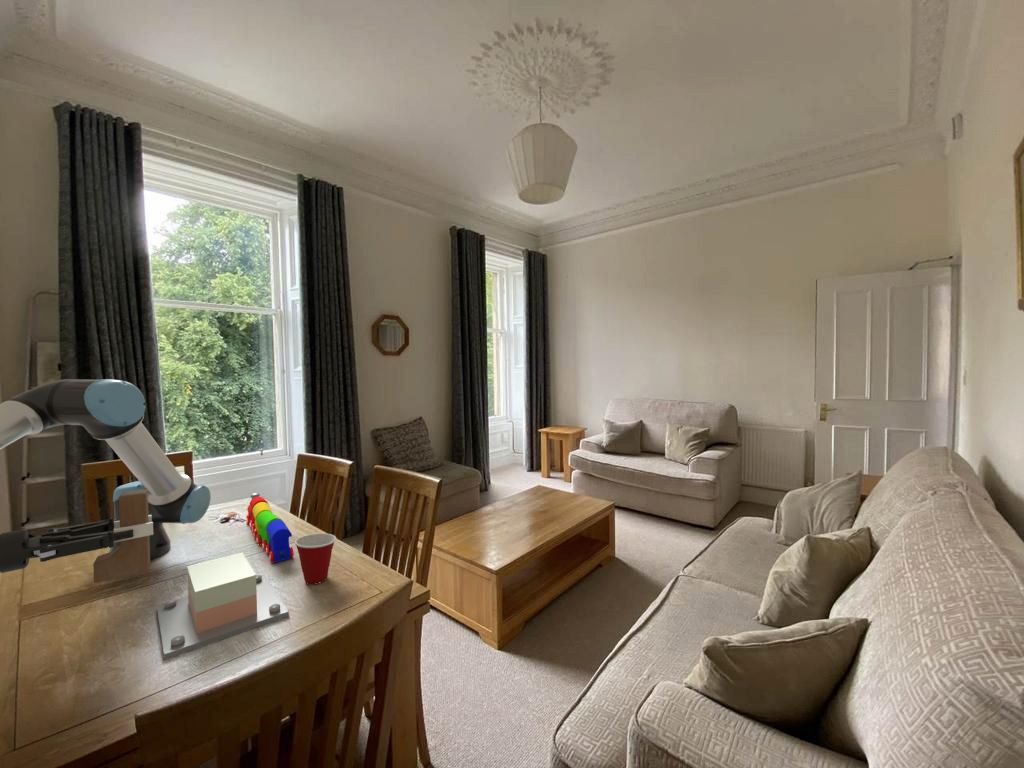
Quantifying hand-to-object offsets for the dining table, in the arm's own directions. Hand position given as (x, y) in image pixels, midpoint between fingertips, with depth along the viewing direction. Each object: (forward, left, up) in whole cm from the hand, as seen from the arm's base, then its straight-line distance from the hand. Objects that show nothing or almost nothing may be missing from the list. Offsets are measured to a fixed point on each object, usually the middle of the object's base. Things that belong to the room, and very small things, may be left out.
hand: (152, 524), depth 101 cm
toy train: (-40, +32, -25) cm, 57 cm away
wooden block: (0, -5, -10) cm, 11 cm away
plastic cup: (0, +36, -25) cm, 44 cm away
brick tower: (+2, +13, -25) cm, 28 cm away
